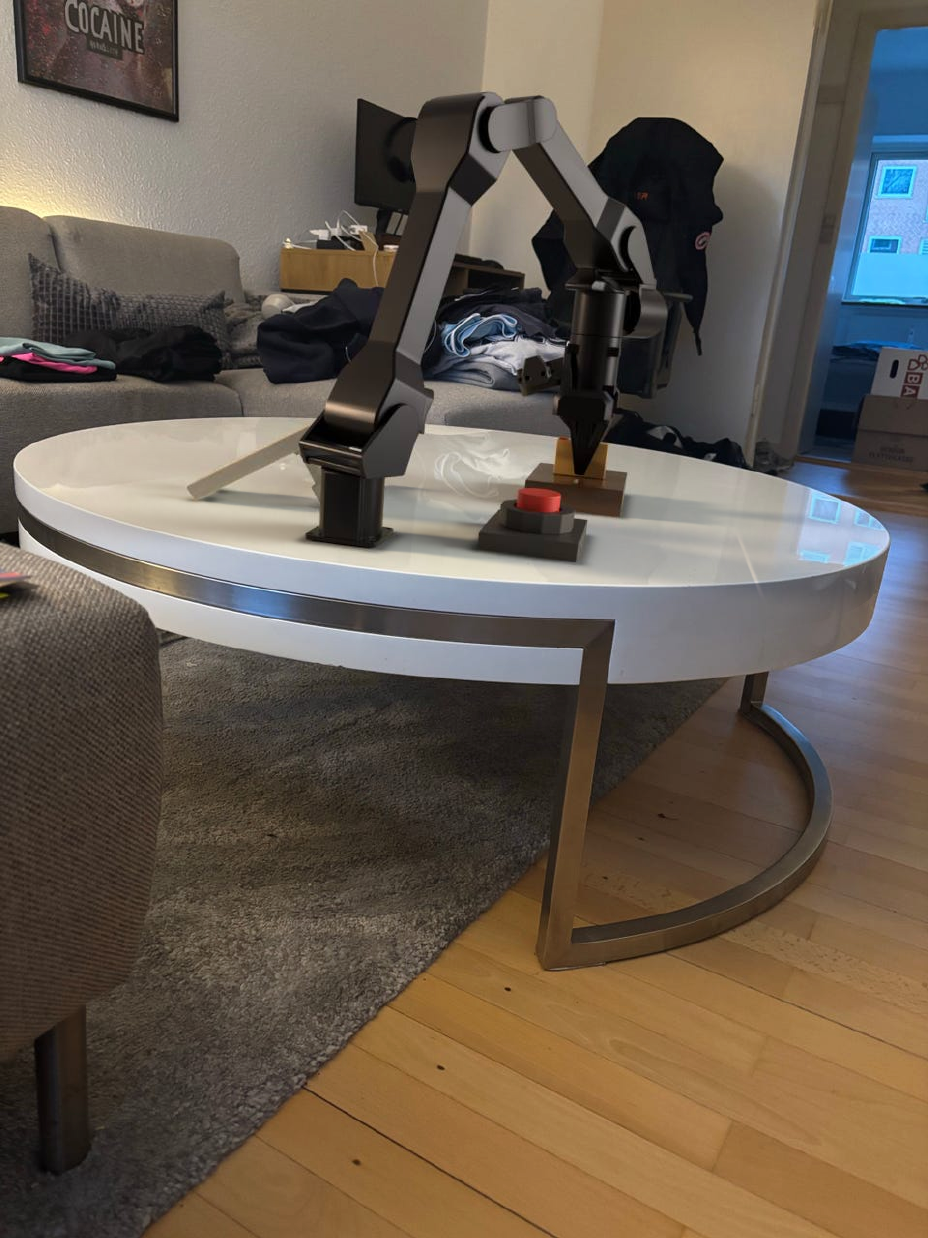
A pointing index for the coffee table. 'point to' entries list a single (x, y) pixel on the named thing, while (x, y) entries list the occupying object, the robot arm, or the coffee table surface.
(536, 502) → the bell button
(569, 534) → the button base
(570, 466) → the upright gold plate
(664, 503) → the coffee table surface
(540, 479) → the plate
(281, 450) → the door handle
